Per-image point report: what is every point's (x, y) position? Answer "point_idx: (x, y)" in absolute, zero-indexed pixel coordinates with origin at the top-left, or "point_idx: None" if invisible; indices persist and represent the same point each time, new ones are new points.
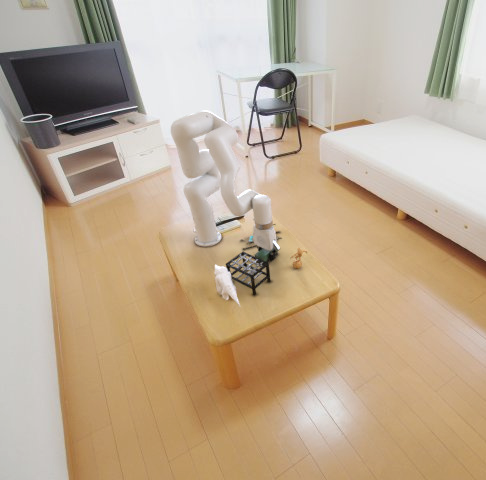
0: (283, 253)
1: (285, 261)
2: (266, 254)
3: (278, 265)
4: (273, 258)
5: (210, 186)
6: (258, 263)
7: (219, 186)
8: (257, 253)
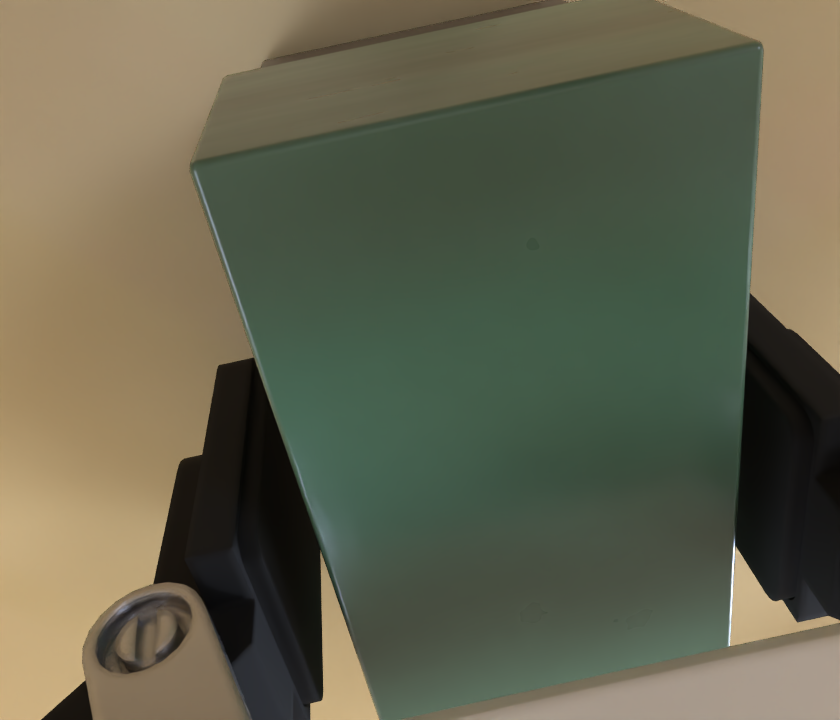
0: (349, 672)
1: (68, 583)
2: (305, 462)
3: (19, 404)
4: (181, 483)
5: None
6: (469, 23)
7: None
8: (690, 224)
